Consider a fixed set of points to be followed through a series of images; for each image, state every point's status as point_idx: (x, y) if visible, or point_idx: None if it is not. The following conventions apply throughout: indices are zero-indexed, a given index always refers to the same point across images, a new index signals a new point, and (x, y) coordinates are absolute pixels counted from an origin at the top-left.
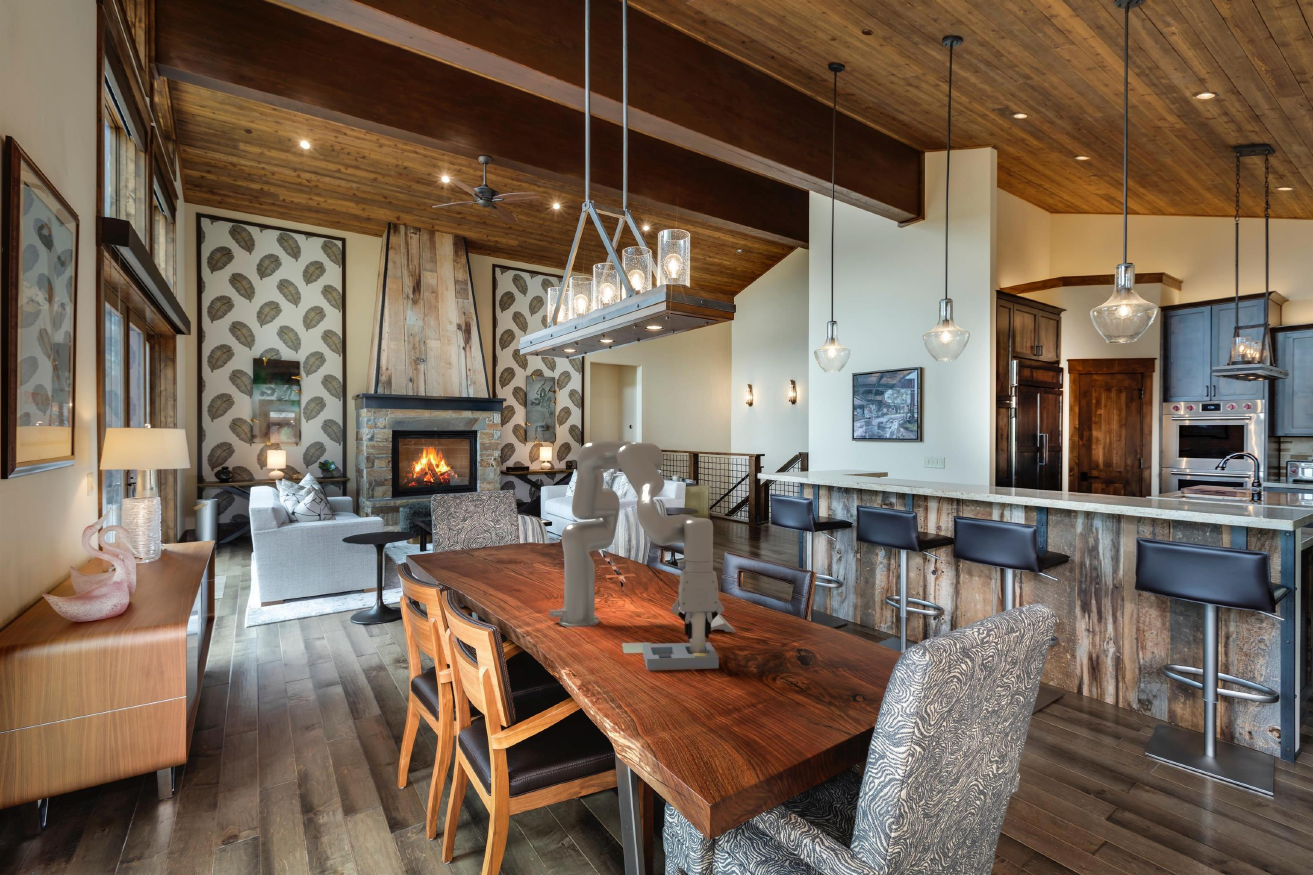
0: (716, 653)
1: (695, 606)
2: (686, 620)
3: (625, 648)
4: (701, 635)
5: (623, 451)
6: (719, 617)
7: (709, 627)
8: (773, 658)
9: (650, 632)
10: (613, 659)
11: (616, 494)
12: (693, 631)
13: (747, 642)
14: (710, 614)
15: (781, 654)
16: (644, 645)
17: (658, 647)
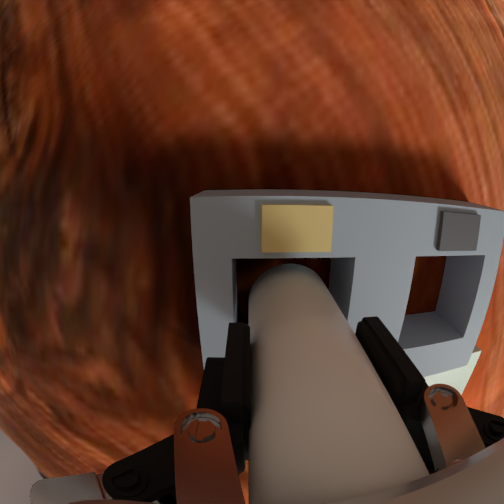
0: (194, 252)
1: None
2: (448, 402)
3: (463, 382)
4: (292, 322)
5: None
6: None
7: (214, 387)
8: (22, 310)
9: None
10: (495, 329)
11: None
12: (361, 346)
13: (95, 426)
14: (190, 483)
15: (11, 333)
16: (470, 352)
17: (440, 341)
